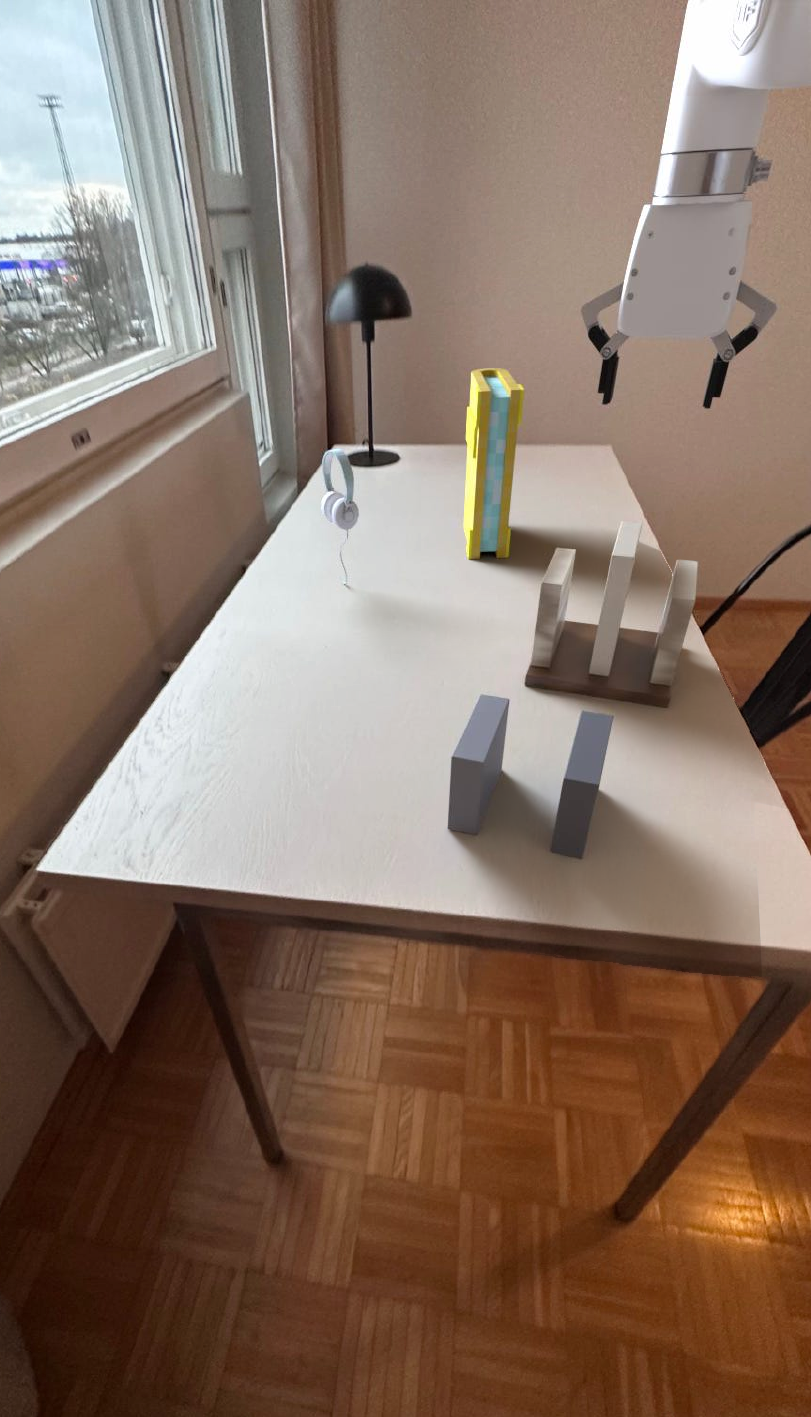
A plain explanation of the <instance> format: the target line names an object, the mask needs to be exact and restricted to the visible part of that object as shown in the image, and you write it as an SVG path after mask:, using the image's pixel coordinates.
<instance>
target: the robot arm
mask: <svg viewBox="0 0 811 1417" xmlns="http://www.w3.org/2000/svg"><path fill="white" fill-rule="evenodd" d="M798 88H811V0H688V1H687V5H686V11H685V15H684V22H683V27H682V33H681V39H680V44H679V49H678V56H677V61H676V67H675V73H674V78H673V83H672V89H671V94H670V100H669V107H668V112H667V116H666V117H667V119H666V124H665V130H664V135H663V141H662V147H661V152H660V153H661V155H660V157H659V164H658V171H657V173H656V174H657V175H656V180H655V186H654V191H653V198H652V203H647V204H646V203H645V204H644V205H643V208H642V210H641V214H640V217H639V219H638V224H637V227H636V231H635V234H634V237H633V243H632V246H631V250H630V254H629V259H628V261H627V262H628V263H627V266H626V267H627V268H626V272H625V276H624V280H623V281H622V282H620V283H618V284H616V285H615V286H613V287H611V288H610V289H607V290H606V291H604V292H603V293H601V294H599V295H597V296H595V297H593V298H592V299H590V300H588V301H587V302H585V303H584V304H583V305H582V307H581V309H580V313H581V317H582V320H583V323H584V326H585V329H586V332H587V337H588V339H589V341H590V342H591V343H592V345H593V346H594V348H595V350H596V351H597V352H598V353H599V355H600V358H601V359H602V362H601V363H602V364H601V368H600V369H601V370H600V375H599V380H598V381H599V382H598V387H597V394H600V395H601V394H603V396H602V403H601V405H602V406H603V405H604V406H605V405H606V406H607V405H609V404H610V403H611V402H612V399H613V396H614V391H615V386H616V379H617V373H618V367H619V362H620V356H619V353H618V352H619V349H620V348H621V347H622V345H624V343H625V342H626V341H627V340H628V339H629V338H641V339H642V338H643V339H645V338H647V339H656V338H657V339H708V338H710V340H711V342H712V344H713V346H714V348H715V350H716V351H717V352H716V355H715V356H716V357H715V358H712V363H711V367H710V371H709V375H708V378H707V383H706V387H705V392H704V396H703V399H702V408H704V409H706V410H708V409H709V410H710V409H711V407H712V402H713V398H721V396H722V394H723V393H722V392H723V388H724V385H725V381H726V378H727V374H728V373H727V372H728V369H729V366H730V362H731V361H732V360H733V359H734V358H735V357H736V356H737V355H738V354H740V353H741V352H742V351H743V350H744V349H745V348H747V347H748V346H749V345H751V344H752V343H753V342H754V341H755V340H756V339H757V337H758V336H759V334H760V333H761V332H762V330H763V329H764V328H765V327H766V326H767V325H768V323H769V322H770V320H771V319H772V317H773V316H774V315H775V314H776V312H777V310H778V307H777V304H776V302H775V301H774V300H772V299H770V298H769V297H767V296H766V295H765V294H763V293H762V292H761V291H759V290H757V289H756V288H754V287H753V286H751V285H749V284H748V283H747V282H745V281H744V280H742V275H743V270H744V267H745V266H744V265H745V260H746V255H747V250H748V244H749V236H750V231H751V227H752V226H751V225H752V216H753V205H754V204H753V203H754V200H753V199H746V194H747V190H748V187H752V185H753V184H758V182H765V181H766V182H767V181H768V179H769V175H770V172H771V168H772V165H773V164H772V163H773V159H764V157H759V155H756V153H757V150H756V149H757V148H758V144H759V140H760V136H761V132H762V127H763V123H764V119H765V116H766V110H767V106H768V103H769V98H770V95H771V94H770V93H771V91H772V90H779V89H780V90H781V89H783V90H785V89H798ZM737 301H738V302H739V303H741V304H743V305H744V306H746V307H748V309H750V310H752V311H753V312H754V316H753V317H752V319H751V320H750V322H749V323H748V324H747V326H746V327H745V328H743V329H742V330H741V331H739V332H738V333H737V334H736V335H735V336H734V337H731V335H730V334H729V332H728V330H727V329H728V327H729V325H730V323H731V319H732V316H733V313H734V310H735V306H736V302H737ZM617 302H619V308H618V315H617V330H616V331H615V332H614V333H613V334H612V335H611V337H610V336H609V334H608V333H607V332H606V330H605V329H604V327H603V326H602V323H601V321H600V312H601V311H603V310H605V309H607V308H608V307H611V306H613V305H614V304H616V303H617Z"/></svg>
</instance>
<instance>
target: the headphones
mask: <svg viewBox="0 0 811 1417" xmlns="http://www.w3.org/2000/svg"><path fill="white" fill-rule="evenodd" d="M334 457H335V458H336V460H337V462H338V464H339V467H340V468H341V472H342V476H343V481H344V485H345V494H343V493H341V492H339V491H337V490H335V488H334V487H333V484H332V477H331V476H332V475H331V469H332V463H333V458H334ZM321 468H322V470H321V471H322V477H323V482H324V486H325V490H324V491H325V494H324V495H323V496H322V499H321V503H320V511H321V513H322V515H323V516H324V517H325V519H326V520H328V521H329V522H331V523H333V524H334V525H335V526H336V527H337V528H339V529H341V530H343V531H345V530H346V536H345V539H344V541H343V542H342V544H341V546H340V549H339V558H340V562H341V565H342V568H343V571H344V573H345V574H344V575H345V581H344V580H343V579H342V578H341V577H339V580H340V581H341V583H342V584H343V585H346V584H347V582H348V574H347V570H346V567H345V565H344V562H343V558H342V550H343V548H344V545H345V544H346V543H347V541H348V539H349V530H351V529H352V528H353V527H355V526H356V524H357V522H358V520H359V515H360V513H359V507H358V504H356V502H355V501H354V500H353V498H354V490H355V488H354V487H355V479H354V478H355V477H354V471H353V467H352V465H351V462H350V459H349V457H348V455H347V454H346V452H345V451H344V450H342V449H341V448H334V449H328V450H326V451H325V452H324V455H323V457H322V460H321Z"/></svg>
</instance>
